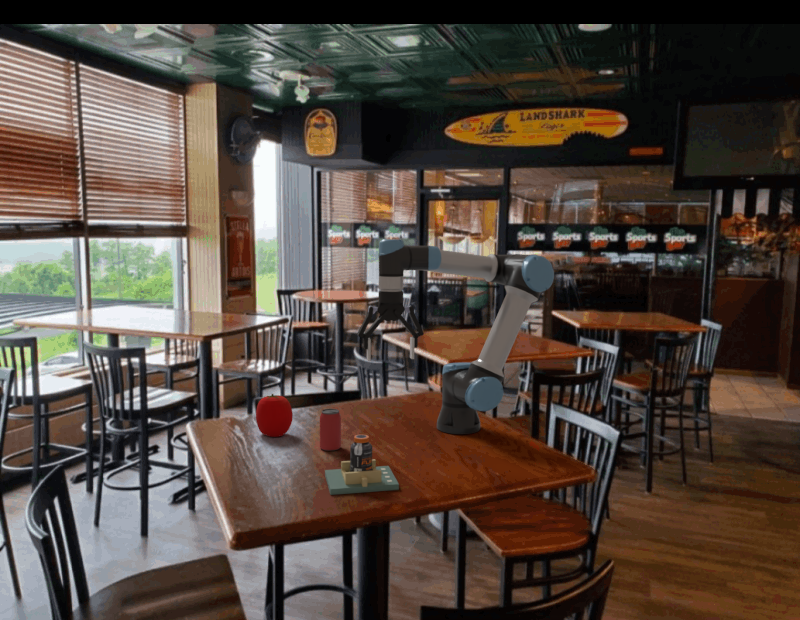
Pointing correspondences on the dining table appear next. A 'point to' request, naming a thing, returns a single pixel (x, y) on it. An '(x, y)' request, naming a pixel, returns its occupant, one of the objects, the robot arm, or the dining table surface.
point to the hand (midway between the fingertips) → (390, 359)
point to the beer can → (330, 430)
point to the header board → (360, 479)
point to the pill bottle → (361, 454)
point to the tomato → (274, 415)
